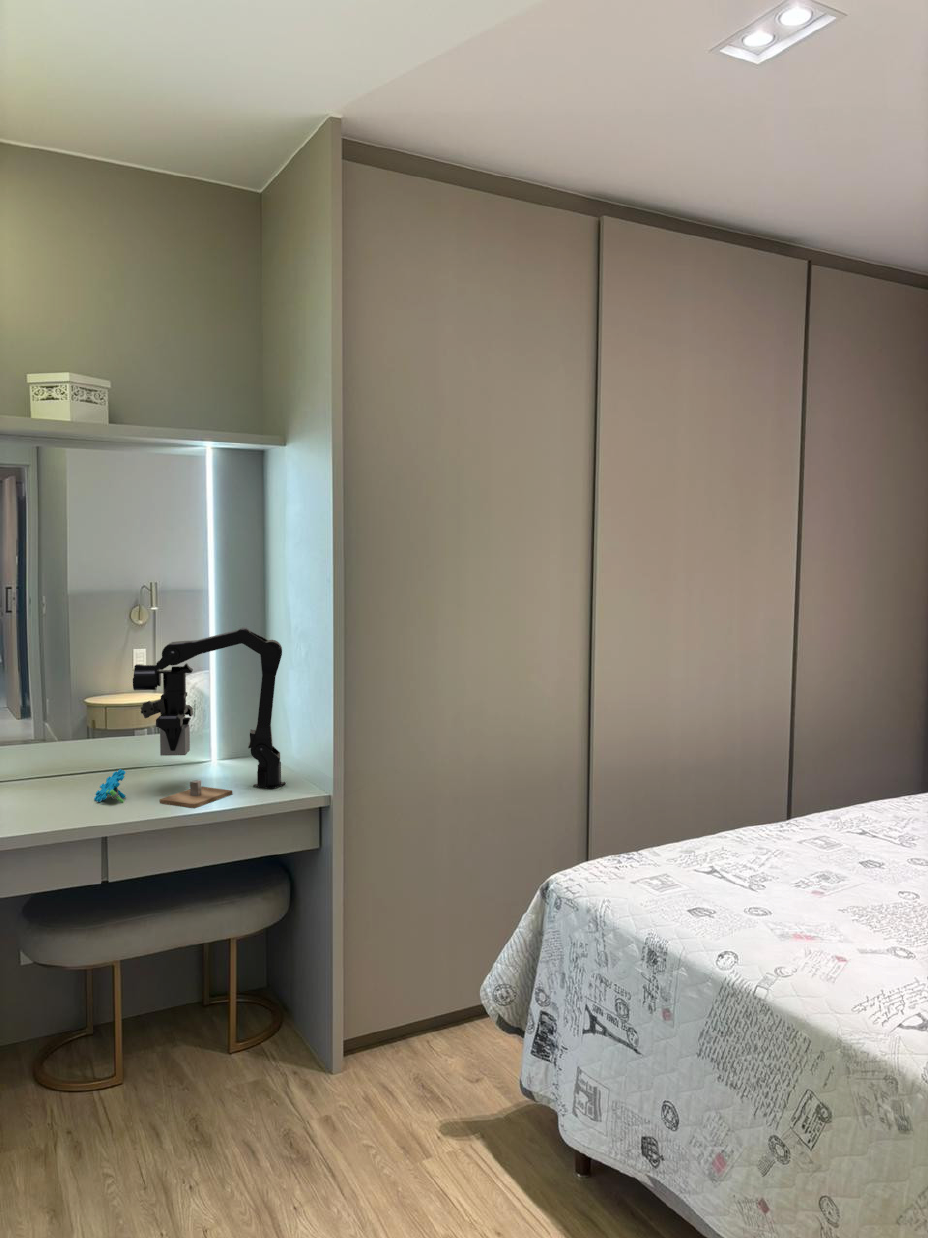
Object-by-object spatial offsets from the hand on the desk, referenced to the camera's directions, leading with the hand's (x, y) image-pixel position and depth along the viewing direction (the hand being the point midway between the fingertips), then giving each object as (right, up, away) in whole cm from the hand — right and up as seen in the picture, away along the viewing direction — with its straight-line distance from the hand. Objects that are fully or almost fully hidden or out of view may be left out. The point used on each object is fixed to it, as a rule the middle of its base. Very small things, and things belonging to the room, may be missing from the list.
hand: (175, 747), depth 256 cm
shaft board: (+8, -12, -8) cm, 17 cm away
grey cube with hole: (0, -1, 0) cm, 1 cm away
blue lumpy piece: (-13, -12, -10) cm, 21 cm away
